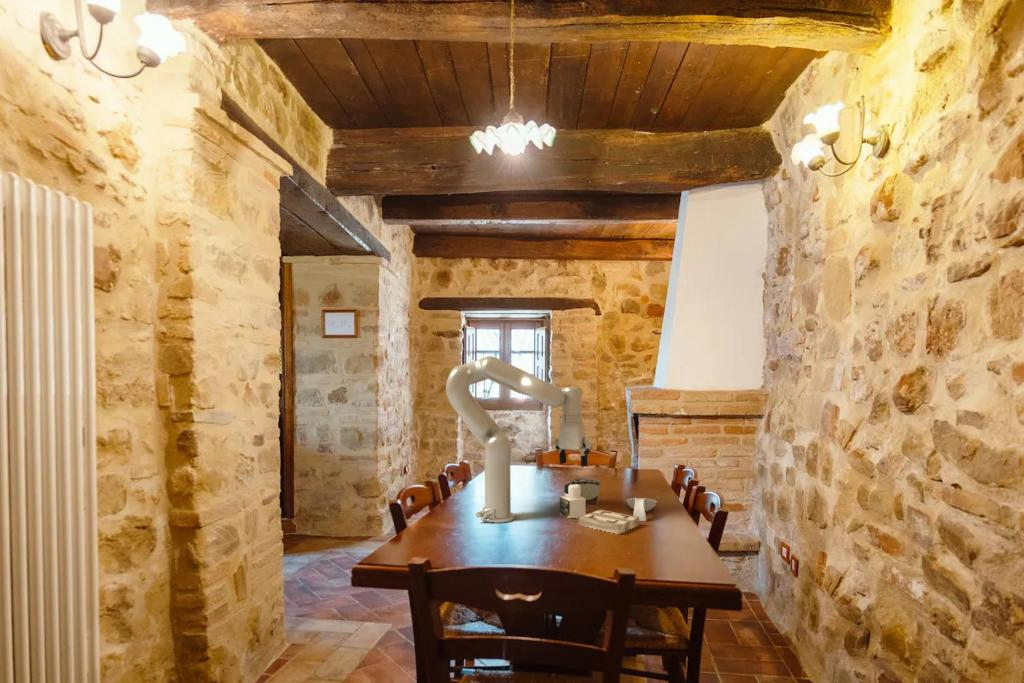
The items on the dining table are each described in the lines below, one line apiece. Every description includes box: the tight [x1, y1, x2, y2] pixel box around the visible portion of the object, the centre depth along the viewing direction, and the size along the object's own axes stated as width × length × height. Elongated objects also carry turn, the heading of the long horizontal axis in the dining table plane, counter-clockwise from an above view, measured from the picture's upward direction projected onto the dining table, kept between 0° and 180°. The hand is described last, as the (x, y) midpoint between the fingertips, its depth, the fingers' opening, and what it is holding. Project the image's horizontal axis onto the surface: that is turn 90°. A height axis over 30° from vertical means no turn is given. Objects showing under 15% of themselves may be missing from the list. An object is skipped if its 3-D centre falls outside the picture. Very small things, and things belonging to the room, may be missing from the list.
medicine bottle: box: [559, 482, 587, 519], centre depth 206 cm, size 7×7×12 cm
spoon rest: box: [625, 497, 658, 522], centre depth 210 cm, size 24×12×7 cm, turn 165°
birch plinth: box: [578, 509, 640, 535], centre depth 193 cm, size 14×16×3 cm
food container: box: [570, 477, 602, 506], centre depth 225 cm, size 12×6×10 cm, turn 84°
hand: (573, 464), depth 207 cm, fingers open, 9 cm apart
